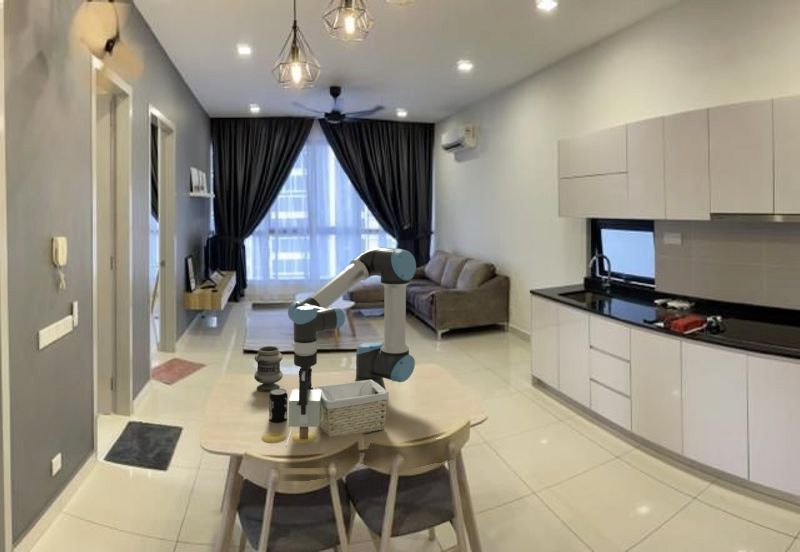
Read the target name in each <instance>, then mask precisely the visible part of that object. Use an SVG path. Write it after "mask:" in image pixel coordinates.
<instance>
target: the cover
mask: <svg viewBox="0 0 800 552" xmlns="http://www.w3.org/2000/svg"><path fill="white" fill-rule="evenodd" d="M307 402H308V423H299V405H297V403H299V388H298V389H296V388H295V389H292V391H291V393H290V396H289V399H288V424H287V425H288V427H290V428H292V427H293V428H295V427H297V428H300V427H308V428H320V419H321V411H322V390H314V389H313V390H308V399H307Z"/></svg>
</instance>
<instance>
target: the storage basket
mask: <svg viewBox="0 0 800 552" xmlns="http://www.w3.org/2000/svg"><path fill="white" fill-rule="evenodd" d="M313 390H322V411H321V419H320V425H319V427H321V428H322V429H323V430H322V431H323V432H325V434H327V435H328V437H329V438H333V437H339V436H345V435H352V434H358V433H364V434H367V433H373V432H378V430H379V431H383V430H385V427H386V419H387V417H386V416H387V409H388V402H389V401H388V400H389V392H388V391H387V389H386V390H385V389H384V388H383V387H381V386H380V385H379V384H377V383H376V382H374V381H373V380H366V381H356V382H355V381H351V382H343V383H334V384H327V385H318V386H315V387H314V388H313ZM375 391H376V392H378V393H379V394H375ZM372 431H373V432H372Z"/></svg>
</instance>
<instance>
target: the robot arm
mask: <svg viewBox="0 0 800 552" xmlns="http://www.w3.org/2000/svg"><path fill="white" fill-rule="evenodd" d="M416 270H417V262H416V258H415V257H414V255H413V254H412V252H410V251H409V250H406V249H402V248H394V247H393V248H392V247H383V246H382V247H380V246H379V247H373V248H370V249H368V250H366V251H364V252H362V253H361V254H358V256H356V257H355V258H353V259H352V260H351V261H350V262H349V266H347V267H345V268H344V269H343V270H342V271H341V272H339V273H338V274H336V275H335V276H333V278H332V279H330V280H329V281H328V282H327V283H325V284H324V285H322V287H320V288H318V289H317V290H316V291H315V292H314V293H312V294H311V295H310V296H308V297H307V298H306V299H305V300H303V301H294V302H292V303H291V304H290V305H289V307H288V309H287V315H288V318H289V319H290V321H292V323H293V342H292V343H291V346H293V352H294V353H293V364H294V365H295V367H300V368H299V370H298V379H299V381H298V382H299V383H298V384H299V385H298V386H299V387H298V389H299V403H297V405H299V423H308V402H307V399H308V390H314V387H312V386H313V385H312V372H313V369H312V367H314V366H316V365H317V363H318V359H317V358H318V355H317V351H318V338H317V337H318V334H319V333H320V334H321V333H324V332H327V331H333V330H337V329H339V328H342V326H344V324H345V321H346V315H345V312H344V311H343V309H342V308H340V307H337V306H335V307H333V306H332V305H333V304H334V303H335V302H337V301H338V300H340V298H342V297H343V296H344V295H345V294H347V292H349V291H350V290H351V289H353V288H354V287H355V286H356V285H358V283H361V281H366V280H368V279H369V278H370V277H373V276H378V277H380V284H381V285H382V286H383V287H384V292H383V293H384V305H383V306H384V315H383V317H384V319H383V320H384V323H383V324H384V330H383V331H384V338H383V340H384V342H381V341H380V342H379V341H375V342H374V341H371V342H363V343H361V344H359V345H358V346H357V347H356V354H355V356H356V359H355V362H356V363H355V367H356V368H355V380H354V382H356V381H366V380H373V381H374V382H376V383H377V384H379V385H380V386H381V387H383V388H384V389H385V390H386V391H387V389H386V385H385V381H384V379H386V380H389V381H392V382H397V383H404V382H405V381H407V380H408V379H409V378H410V377H411V376H412V375H413V372H414V369H415V365H416V362H415V361H416V360H415V358H414V356H412V355H411V354H410V348H409V346H408V345H407V344H406V325H407V324H406V322H407V321H406V318H407V317H406V313H407V312H406V311H407V309H406V308H407V307H406V305H407V303H406V302H407V298H406V297H407V296H406V295H407V294H406V293H407V286H408V285H409V284H411V283H410V282H411V281H410V280H411V279H413V278H414V276H415V274H416ZM330 306H332V307H330ZM375 394H379V393H378V392H376V391H375Z"/></svg>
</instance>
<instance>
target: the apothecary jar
mask: <svg viewBox="0 0 800 552" xmlns="http://www.w3.org/2000/svg"><path fill="white" fill-rule="evenodd" d="M254 360H255V362H256V363H257V369H256V372H255V373H254V375H253V376H254V380H255V381H256V382H257V383H260V384H259V385H257V387H256V390H258V391H259V392H263V393H264V392H265V393H271V390H273V389H281V386H280V385H279V384H277V383H279V382H280V381H281V380H282V379H283V377H284V375H283V371H282V370H281V367H280V364H281V361H282V360H283V354H282V353H281V352H280V351H279V347H278V346H272V345H265V346H262V347H259V349H258V351H257V353H256V354H255V355H254Z"/></svg>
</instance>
